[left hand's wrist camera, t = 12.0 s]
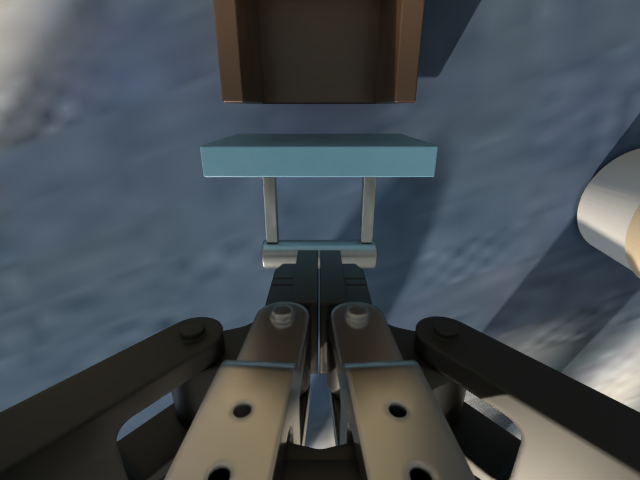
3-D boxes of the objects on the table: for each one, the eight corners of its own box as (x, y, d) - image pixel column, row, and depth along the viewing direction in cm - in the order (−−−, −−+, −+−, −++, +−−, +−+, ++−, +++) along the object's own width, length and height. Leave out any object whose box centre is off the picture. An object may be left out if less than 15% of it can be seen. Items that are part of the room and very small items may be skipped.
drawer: (392, 243, 21) (420, 296, 15) (246, 243, 21) (218, 296, 15) (442, -359, 13) (554, -782, 7) (195, -359, 13) (82, -782, 7)
